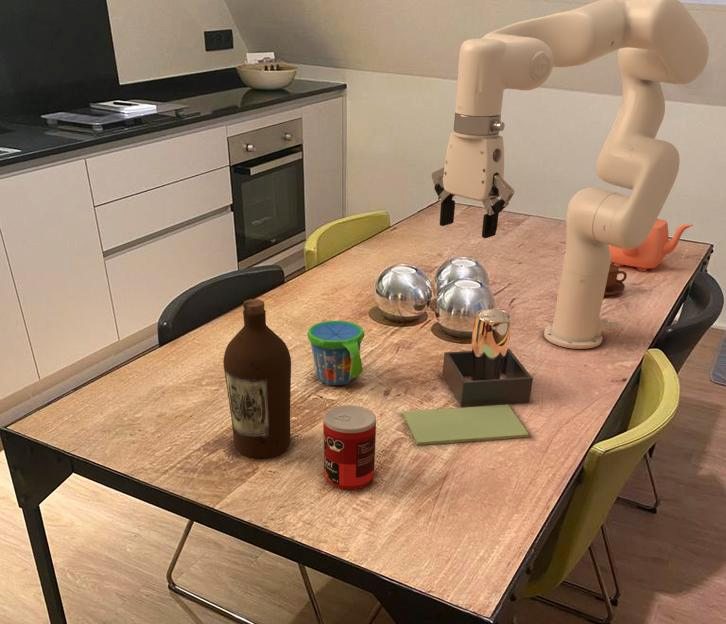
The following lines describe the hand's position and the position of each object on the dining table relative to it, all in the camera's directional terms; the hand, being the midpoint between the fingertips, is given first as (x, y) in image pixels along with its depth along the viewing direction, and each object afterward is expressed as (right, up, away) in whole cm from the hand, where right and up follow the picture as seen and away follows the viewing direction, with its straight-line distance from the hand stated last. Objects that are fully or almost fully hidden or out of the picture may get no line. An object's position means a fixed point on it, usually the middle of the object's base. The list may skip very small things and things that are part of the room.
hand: (467, 230), depth 135 cm
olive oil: (-36, -39, -6) cm, 53 cm away
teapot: (+58, +16, +78) cm, 98 cm away
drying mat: (0, -35, 0) cm, 35 cm away
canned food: (-21, -44, -14) cm, 51 cm away
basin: (+5, -27, +12) cm, 30 cm away
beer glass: (+5, -27, +13) cm, 30 cm away
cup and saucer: (+42, +4, +59) cm, 73 cm away
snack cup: (-24, -25, +15) cm, 37 cm away
